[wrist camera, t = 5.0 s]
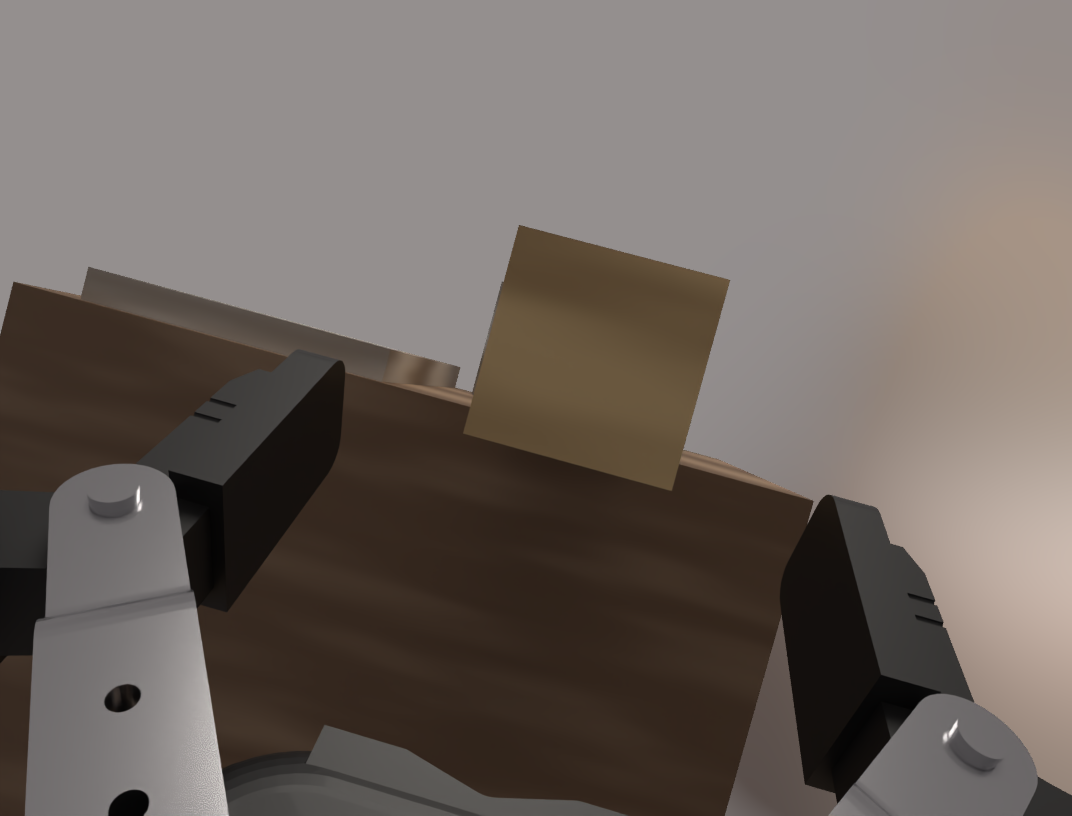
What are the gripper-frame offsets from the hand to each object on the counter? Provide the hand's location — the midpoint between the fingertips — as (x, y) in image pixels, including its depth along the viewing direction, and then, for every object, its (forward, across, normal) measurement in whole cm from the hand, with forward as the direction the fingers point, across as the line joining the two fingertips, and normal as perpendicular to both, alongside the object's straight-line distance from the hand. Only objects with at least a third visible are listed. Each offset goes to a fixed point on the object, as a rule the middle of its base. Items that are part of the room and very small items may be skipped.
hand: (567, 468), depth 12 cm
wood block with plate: (+9, 0, +5) cm, 11 cm away
